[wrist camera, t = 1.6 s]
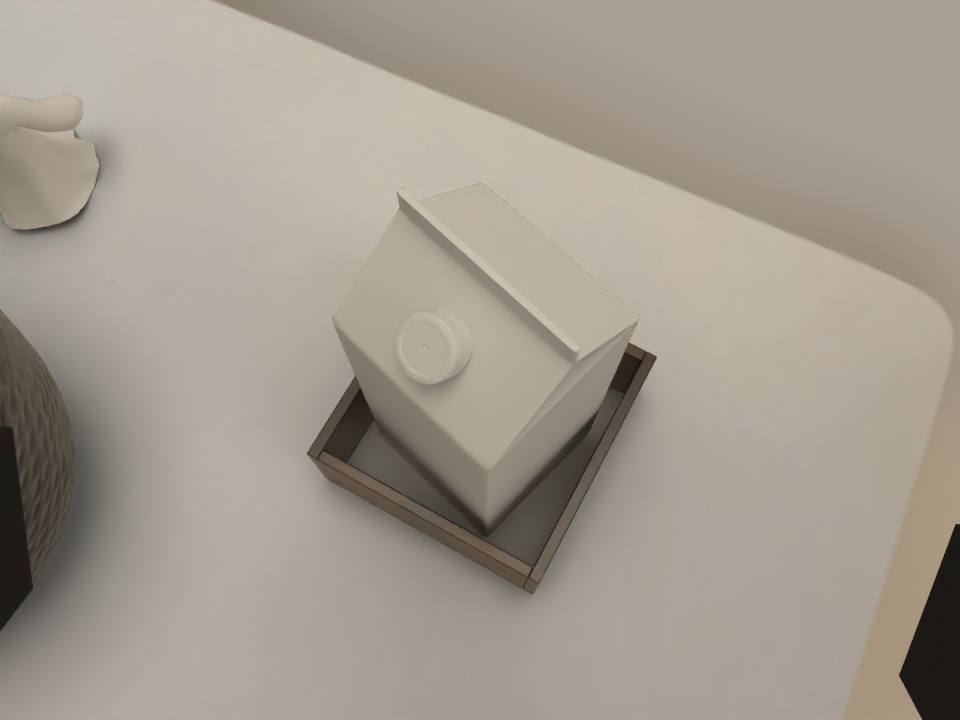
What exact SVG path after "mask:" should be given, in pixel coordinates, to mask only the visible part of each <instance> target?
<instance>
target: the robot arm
mask: <svg viewBox="0 0 960 720" xmlns="http://www.w3.org/2000/svg"><path fill="white" fill-rule="evenodd" d="M32 589H33V582H32V574H31V566H30V558H29V551H28V543H27V535H26V527H25V519H24V512H23V504H22V496H21V488H20V480H19V473H18V465H17V457H16V449H15V441H14V433H13V427H8V426H0V631H1V630H2V629H3V627H4V626H5V625H6V623H7V622H8V621H9V619H10V618H11V617H12V615H13V614H14V613H15V611H16V610H17V609H18V607H19V606H20V605H21V603H22V602H23V601H24V599H25V598H26V597H27V595H28V594H29V593H30V591H31V590H32ZM899 676H900V678H901V680H902V682H903V684H904V686H905V688H906V689H907V692H908V693H909V695H910V697H911V699H912V701H913V703H914V705H915V707H916V709H917V711H918V712H919V714H920V716H921V718H922V720H960V524H956V525H955V527H954V530H953V533H952V535H951V538H950V541H949V543H948V546H947V549H946V551H945V554H944V557H943V559H942V562H941V565H940V568H939V570H938V573H937V575H936V578H935V581H934V583H933V586H932V589H931V591H930V595H929V597H928V600H927V602H926V605H925V608H924V610H923V613H922V616H921V618H920V621H919V624H918V626H917V629H916V632H915V634H914V637H913V640H912V642H911V645H910V648H909V650H908V653H907V656H906V659H905V661H904V664H903V666H902V669H901V672H900V674H899Z"/></svg>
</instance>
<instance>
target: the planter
mask: <svg viewBox="0 0 960 720" xmlns="http://www.w3.org/2000/svg"><path fill="white" fill-rule="evenodd" d="M0 426H8V427H13V433H14V441H15V449H16V457H17V465H18V473H19V480H20V488H21V496H22V504H23V512H24V519H25V527H26V535H27V543H28V551H29V558H30V566H31V574H32V581H33V580H34V579H35V577H36V576H37V574H38V573H39V571H40V570H41V569H42V567H43V566H44V564H45V563H46V561H47V559H48V557H49V556H50V554H51V552H52V550H53V548H54V546H55V544H56V542H57V540H58V538H59V536H60V533H61V530H62V527H63V524H64V521H65V519H66V516H67V513H68V510H69V505H70V499H71V494H72V488H73V482H74V447H73V440H72V433H71V426H70V421H69V418H68V415H67V412H66V409H65V406H64V403H63V400H62V397H61V394H60V392H59V390H58V388H57V386H56V384H55V382H54V380H53V378H52V376H51V374H50V373H49V371H48V369H47V367H46V365H45V363H44V362H43V360H42V359H41V357H40V356H39V355H38V353H37V352H36V351H35V349H34V348H33V347H32V346H31V344H30V343H29V342H28V341H27V339H26V338H25V337H24V336H23V335H22V333H21V332H20V331H19V330H18V329H17V328H16V326H15V325H14V324H13V323H12V322H11V321H10V320H9V319H8V318H7V316H6V315H5V314H4V313H3V312H2V311H1V310H0Z"/></svg>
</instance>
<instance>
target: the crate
mask: <svg viewBox="0 0 960 720" xmlns="http://www.w3.org/2000/svg"><path fill="white" fill-rule="evenodd" d="M656 358H657V357H656V356H654V355H652V354H651V353H649V352H646V351H644V350H642V349H640V348H638V347H637V346H635V345H633V344H631V343H628V345H627V347H626V349H625V352H624V354H623V356H622V359H621V361H620V363H619V365H618V368H617V370H616V372H615V374H614V377H613V379H612V381H611V383H610V386H611V387H613V388H615V389H617V390H619V391H621V392H623V393H625V394H624V396H623V398H622V400H621V402H620V404H619V405H618V407H617V409H616V411H615V413H614V415H613V417H612V419H611V421H610V423H609V425H608V426H607V428H606V430H605V432H604V434H603V436H602V438H601V440H600V442H599V444H598V445H597V447H596V449H595V451H594V453H593V455H592V457H591V459H590V461H589V463H588V465H587V466H586V468H585V470H584V472H583V474H582V476H581V478H580V480H579V482H578V484H577V485H576V487H575V489H574V491H573V493H572V495H571V497H570V499H569V501H568V503H567V505H566V506H565V508H564V510H563V512H562V514H561V516H560V518H559V520H558V522H557V524H556V525H555V527H554V529H553V531H552V533H551V535H550V537H549V539H548V541H547V543H546V545H545V546H544V548H543V550H542V552H541V554H540V556H539V558H538V560H537V562H536V564H535V565H534V567H532V566H531V565H529V564H527V563H525V562H523V561H522V560H520V559H518V558H516V557H514V556H513V555H511V554H509V553H507V552H506V551H504V550H502V549H500V548H498V547H497V546H495V545H493V544H491V543H489V542H488V541H486V540H484V539H482V538H480V537H479V536H477V535H475V534H473V533H472V532H470V531H468V530H466V529H464V528H463V527H461V526H459V525H457V524H455V523H454V522H452V521H450V520H448V519H446V518H445V517H443V516H441V515H439V514H437V513H436V512H434V511H432V510H430V509H429V508H427V507H425V506H423V505H421V504H420V503H418V502H416V501H414V500H412V499H411V498H409V497H407V496H405V495H403V494H402V493H400V492H398V491H396V490H395V489H393V488H391V487H389V486H387V485H386V484H384V483H382V482H380V481H378V480H377V479H375V478H373V477H371V476H369V475H368V474H366V473H364V472H362V471H360V470H359V469H357V468H355V467H353V466H352V465H350V464H348V463H347V461H348V459H349V458H350V456H351V455H352V453H353V451H354V450H355V448H356V446H357V445H358V443H359V441H360V440H361V438H362V437H363V435H364V433H365V432H366V430H367V428H368V427H369V425H370V423H371V422H372V420H373V419H374V417H373V415H372V413H371V410H370V408H369V406H368V403H367V401H366V399H365V396H364V394H363V392H362V389H361V387H360V385H359V382H358V380H357V378H356V376H355V378H354V379H353V381H352V382H351V384H350V385H349V387H348V389H347V390H346V392H345V393H344V395H343V397H342V398H341V400H340V401H339V403H338V405H337V406H336V408H335V409H334V411H333V413H332V414H331V416H330V417H329V419H328V421H327V422H326V424H325V425H324V427H323V429H322V430H321V432H320V433H319V435H318V437H317V438H316V440H315V441H314V443H313V444H312V446H311V448H310V449H309V451H308V452H307V455H308V456H309V457H310V458H311V460H312V461H313V462H314V463H315V464H316V466H317V467H318V468H319V469H320V471H321V472H322V473H323V474H324V476H325V477H326V478H327V479H329V480H331V481H332V482H335V483H336V484H338V485H340V486H341V487H343V488H345V489H347V490H348V491H350V492H352V493H354V494H356V495H357V496H359V497H361V498H363V499H364V500H366V501H368V502H370V503H371V504H373V505H375V506H377V507H379V508H380V509H382V510H384V511H386V512H387V513H389V514H391V515H393V516H395V517H396V518H398V519H400V520H402V521H403V522H405V523H407V524H409V525H410V526H412V527H414V528H416V529H418V530H419V531H421V532H423V533H425V534H426V535H428V536H430V537H432V538H434V539H435V540H437V541H439V542H441V543H442V544H444V545H446V546H448V547H449V548H451V549H453V550H455V551H457V552H458V553H460V554H462V555H464V556H465V557H467V558H469V559H471V560H473V561H474V562H476V563H478V564H480V565H481V566H483V567H485V568H487V569H489V570H490V571H492V572H494V573H496V574H497V575H499V576H501V577H503V578H504V579H506V580H508V581H510V582H512V583H513V584H515V585H517V586H519V587H520V588H523V589H524V590H526V591H527V592H529V593H531V594H533V593H534V591H535V589H536V588H537V586H538V585H539V583H540V581H541V579H542V577H543V575H544V574H545V572H546V570H547V568H548V566H549V564H550V562H551V560H552V558H553V556H554V554H555V552H556V550H557V549H558V547H559V545H560V543H561V541H562V539H563V537H564V535H565V533H566V531H567V529H568V527H569V525H570V524H571V522H572V520H573V518H574V516H575V514H576V512H577V510H578V508H579V506H580V504H581V502H582V500H583V499H584V497H585V495H586V493H587V491H588V489H589V487H590V485H591V483H592V481H593V479H594V477H595V475H596V474H597V472H598V470H599V468H600V466H601V464H602V462H603V460H604V458H605V456H606V454H607V452H608V450H609V449H610V447H611V445H612V443H613V441H614V439H615V437H616V435H617V433H618V431H619V429H620V427H621V425H622V424H623V422H624V420H625V418H626V416H627V414H628V412H629V410H630V408H631V406H632V404H633V402H634V400H635V399H636V397H637V395H638V393H639V391H640V389H641V387H642V385H643V383H644V381H645V379H646V377H647V376H648V374H649V372H650V370H651V368H652V366H653V364H654V362H655V360H656Z"/></svg>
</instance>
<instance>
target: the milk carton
mask: <svg viewBox="0 0 960 720" xmlns="http://www.w3.org/2000/svg"><path fill="white" fill-rule="evenodd" d="M397 196H398V201H399V206H400V208H399V210H398V211H397V213H396V214H395V216H394V218H393V219H392V221H391V222H390V224H389V226H388V227H387V229H386V231H385V232H384V234H383V235H382V237H381V239H380V240H379V242H378V244H377V245H376V247H375V248H374V250H373V252H372V253H371V255H370V257H369V258H368V260H367V261H366V263H365V265H364V266H363V268H362V270H361V271H360V273H359V274H358V276H357V278H356V279H355V281H354V282H353V284H352V286H351V287H350V289H349V291H348V292H347V294H346V295H345V297H344V299H343V300H342V302H341V304H340V305H339V307H338V308H337V310H336V312H335V313H334V315H333V317H332V318H333V322H334V325H335V329H336V331H337V334H338V336H339V338H340V341H341V343H342V345H343V348H344V350H345V352H346V355H347V357H348V359H349V362H350V364H351V366H352V369H353V371H354V373H355V376H356V378H357V380H358V382H359V385H360V387H361V389H362V392H363V394H364V396H365V399H366V401H367V403H368V406H369V408H370V410H371V413H372V415H373V417H374V420H375V422H376V424H377V427H378V429H379V431H380V433H381V435H382V436H383V437H384V438H385V439H386V440H387V441H388V442H389V443H390V444H391V445H392V446H393V447H394V448H395V449H396V450H397V451H398V452H399V453H400V454H401V455H402V456H403V457H404V458H405V459H406V460H407V461H408V462H409V463H410V464H411V465H412V466H413V467H414V468H415V469H416V470H417V471H418V472H419V473H420V474H421V475H422V476H423V477H424V478H425V479H426V480H427V481H428V482H429V483H430V484H431V485H432V486H433V487H434V488H435V489H436V490H437V491H438V492H439V493H440V494H441V495H442V496H443V497H444V498H445V499H446V500H447V501H448V502H449V503H450V504H451V505H452V506H453V507H454V508H455V509H456V510H457V511H458V512H459V513H460V514H461V515H462V516H463V517H464V518H465V519H466V520H467V521H468V522H469V523H470V524H471V525H472V526H473V527H474V528H475V529H476V530H477V531H478V532H480V533H481V534H482V535H483V536H485V537H487V536H488V535H489V534H490V533H491V532H492V531H493V530H494V529H495V528H496V527H497V526H498V525H499V524H500V523H501V522H502V521H503V520H504V519H505V518H506V517H507V516H508V515H509V514H510V513H511V512H512V511H513V510H514V509H515V507H516V506H517V505H518V504H519V503H520V502H521V501H522V500H523V499H524V498H525V497H526V496H527V495H528V494H529V493H530V492H531V491H532V490H533V489H534V488H535V487H536V486H537V485H538V484H539V483H540V482H541V481H542V480H543V479H544V478H545V477H546V476H547V475H548V474H549V473H550V472H551V470H552V469H553V468H554V467H555V466H556V465H557V464H558V463H559V462H560V461H561V460H562V459H563V458H564V457H565V456H566V455H567V454H568V453H569V452H570V451H571V450H572V449H573V448H574V447H575V446H576V445H577V444H578V443H579V442H580V441H581V440H582V439H583V438H584V437H585V436H586V435H587V433H588V432H589V431H590V429H591V426H592V424H593V422H594V420H595V417H596V415H597V413H598V411H599V408H600V406H601V404H602V401H603V399H604V397H605V395H606V392H607V390H608V388H609V386H610V383H611V381H612V379H613V377H614V374H615V372H616V370H617V368H618V365H619V363H620V361H621V359H622V356H623V354H624V352H625V349H626V347H627V345H628V343H629V340H630V338H631V336H632V334H633V331H634V329H635V327H636V325H637V322H638V321H639V318H638V317H637V316H636V315H635V314H634V313H633V312H632V311H631V310H630V309H629V308H628V307H627V306H625V305H624V304H623V303H622V302H621V301H620V300H619V299H617V298H616V297H615V296H614V295H613V294H612V293H610V292H609V291H608V290H607V289H606V288H605V287H604V286H602V285H601V284H600V283H599V282H598V281H597V280H596V279H594V278H593V277H592V276H591V275H590V274H589V273H587V272H586V271H585V270H584V269H583V268H582V267H581V266H579V265H578V264H577V263H576V262H575V261H574V260H572V259H571V258H570V257H569V256H568V255H567V254H566V253H564V252H563V251H562V250H561V249H560V248H559V247H558V246H556V245H555V244H554V243H553V242H552V241H551V240H549V239H548V238H547V237H546V236H545V235H544V234H543V233H541V232H540V231H539V230H538V229H537V228H536V227H535V226H533V225H532V224H531V223H530V222H529V221H528V220H526V219H525V218H524V217H523V216H522V215H521V214H520V213H518V212H517V211H516V210H515V209H514V208H513V207H511V206H510V205H509V204H508V203H507V202H506V201H505V200H503V199H502V198H501V197H500V196H499V195H498V194H496V193H495V192H494V191H493V190H492V189H491V188H489V187H488V186H487V185H486V184H484V183H479V184H475V185H472V186H468V187H465V188H461V189H458V190H454V191H450V192H447V193H443V194H440V195H436V196H433V197H429V198H426V199H422V200H419V201H416V200H415V199H414V198H413V197H412V196H411V195H410V194H409V193H407V192H406V191H405V190H404V189H403V188H400V189H399V190H397Z"/></svg>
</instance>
